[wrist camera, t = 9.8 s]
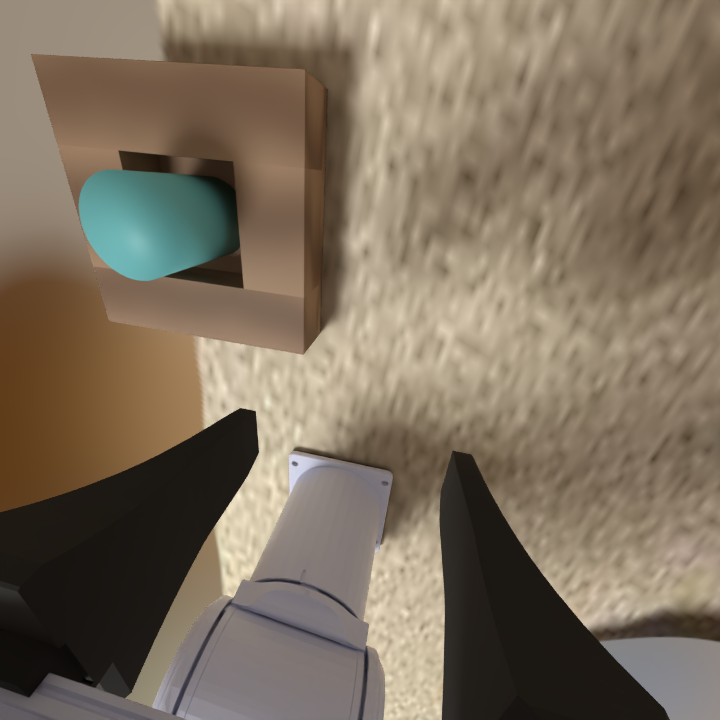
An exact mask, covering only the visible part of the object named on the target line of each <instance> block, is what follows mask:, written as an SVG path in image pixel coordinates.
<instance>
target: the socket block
mask: <svg viewBox="0 0 720 720" xmlns="http://www.w3.org/2000/svg"><path fill="white" fill-rule="evenodd" d="M31 56H32V60H33V63H34V66H35V70H36V73H37V77H38V80H39V83H40V87H41V90H42V93H43V97H44V100H45V104H46V107H47V110H48V114H49V117H50V121H51V124H52V127H53V131H54V135H55V138H56V141H57V144H58V148H59V152H60V155H61V158H62V162H63V165H64V169H65V172H66V175H67V179H68V182H69V186H70V189H71V192H72V195H73V199H74V203H75V206H76V209H77V213H78V216H79V220H80V215H79V197H80V193H81V190H82V187H83V185H84V184H85V182H86V181H87V180H88V178H89V177H91V176H92V175H93V174H95V173H97V172H99V171H102V170H110V169H112V170H127V171H142V172H157V173H173V174H188V175H203V176H213V177H216V178H219V179H221V180H223V181H225V182H226V183H228V184H229V185H230V186H231V187H232V188H233V189H234V190H235V191H236V200H237V213H238V225H239V237H240V249H238V250H237V251H236V252H234V253H232V254H230V255H227V256H224V257H221V258H218V259H215V260H212V261H209V262H206V263H203V264H200V265H197V266H193V267H190V268H187V269H184V270H181V271H178V272H175V273H172V274H169V275H166V276H163V277H160V278H157V279H154V280H150V281H139V280H134V279H130V278H128V277H125V276H123V275H121V274H119V273H118V272H116V271H115V270H113V269H112V268H111V267H110V266H108V265H107V264H106V263H105V262H104V261H103V260H102V259H101V258H100V257H99V255H98V254H97V253H96V252H95V250H94V249H93V247H92V246H91V244H90V243H89V241H88V239H87V237H86V235H85V232H84V230H83V227H82V224H81V227H82V230H83V233H84V237H85V240H86V244H87V247H88V250H89V253H90V257H91V260H92V264H93V267H94V271H95V274H96V278H97V281H98V284H99V288H100V291H101V295H102V298H103V301H104V305H105V307H106V312H107V315H108V318H109V321H113V322H118V323H124V324H130V325H136V326H142V327H148V328H153V329H159V330H165V331H170V332H176V333H183V334H188V335H193V336H199V337H205V338H211V339H217V340H222V341H228V342H234V343H240V344H245V345H251V346H257V347H263V348H268V349H274V350H280V351H286V352H291V353H297V354H303V355H304V353H305V352H306V351H307V349H308V348H309V347H310V346H311V344H312V343H313V342H314V340H315V339H316V338H317V336H318V335H319V334H320V318H321V286H322V254H323V222H324V189H325V157H326V125H327V93H328V89H327V88H326V87H324V86H323V85H322V84H321V83H320V82H319V81H318V80H317V79H315V78H314V77H313V76H312V75H311V74H310V73H309V72H307V71H306V70H305V69H289V68H271V67H253V66H235V65H217V64H199V63H181V62H163V61H145V60H127V59H109V58H90V57H73V56H56V55H37V54H31ZM80 223H81V220H80Z"/></svg>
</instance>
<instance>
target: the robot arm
mask: <svg viewBox="0 0 720 720" xmlns="http://www.w3.org/2000/svg"><path fill="white" fill-rule="evenodd" d="M258 453H259V447H258V434H257V422H256V411H252V410H247V409H242V408H240V409H238V410H236V411H234V412H233V413H231V414H229V415H228V416H226V417H224V418H223V419H221V420H219V421H218V422H216V423H214V424H213V425H211V426H209V427H208V428H206V429H204V430H203V431H201V432H199V433H198V434H196V435H194V436H192V437H191V438H189V439H187V440H185V441H184V442H182V443H180V444H178V445H176V446H174V447H172V448H171V449H169V450H167V451H165V452H163V453H161V454H160V455H158V456H155V457H154V458H151V459H149V460H147V461H145V462H143V463H141V464H139V465H137V466H134V467H132V468H130V469H128V470H125V471H123V472H121V473H118V474H116V475H113V476H111V477H108V478H105V479H103V480H100V481H98V482H95V483H93V484H90V485H87V486H85V487H82V488H79V489H77V490H73V491H71V492H68V493H65V494H62V495H59V496H56V497H52V498H49V499H46V500H43V501H40V502H36V503H33V504H30V505H26V506H22V507H19V508H15V509H11V510H8V511H4V512H0V720H383V717H384V704H385V675H384V670H383V667H382V665H381V662H380V660H379V656H378V653H377V651H376V650H375V649H374V648H372V647H369V646H366V642H367V635H368V628H369V624H368V623H366V622H364V621H363V619H364V613H365V607H366V601H367V595H368V589H369V583H370V577H371V571H372V565H373V559H374V553H375V552H378V551H379V549H380V544H381V538H382V533H383V528H384V522H385V517H386V512H387V506H388V501H389V496H390V490H391V485H392V480H393V474H392V473H391V472H390V471H387V470H383V469H378V468H374V467H369V466H364V465H360V464H355V463H350V462H346V461H341V460H336V459H332V458H327V457H322V456H317V455H313V454H308V453H303V452H299V451H292V452H291V453H290V455H289V488H290V496H289V498H288V500H287V502H286V504H285V506H284V508H283V510H282V513H281V515H280V517H279V519H278V521H277V523H276V525H275V528H274V530H273V532H272V534H271V536H270V538H269V540H268V542H267V545H266V547H265V549H264V551H263V553H262V555H261V557H260V560H259V562H258V564H257V566H256V568H255V570H254V572H253V575H252V577H251V579H250V581H248V580H242V582H241V584H240V586H239V588H238V590H237V592H236V594H235V596H234V598H233V597H230V596H227V595H224V596H221V597H220V598H219V599H217V601H215V602H213V603H212V604H210V605H208V606H207V607H206V608H205V609H204V610H203V611H202V612H201V614H200V615H199V616H198V618H197V619H196V621H195V622H194V624H193V625H192V627H191V629H190V630H189V631H188V633H187V635H186V636H185V638H184V640H183V642H182V643H181V645H180V647H179V649H178V651H177V653H176V655H175V657H174V659H173V661H172V663H171V665H170V667H169V669H168V671H167V673H166V675H165V677H164V679H163V682H162V684H161V686H160V688H159V691H158V693H157V696H156V698H155V701H154V703H153V706H152V707H149V706H146V705H143V704H140V703H137V702H134V701H131V700H128V699H125V698H126V697H127V696H128V695H129V694H130V693H131V692H132V689H133V687H134V685H135V683H136V680H137V678H138V676H139V674H140V672H141V669H142V667H143V665H144V663H145V660H146V658H147V656H148V654H149V652H150V649H151V647H152V645H153V642H154V640H155V638H156V636H157V634H158V632H159V630H160V628H161V626H162V624H163V622H164V619H165V617H166V615H167V613H168V611H169V609H170V607H171V605H172V603H173V601H174V599H175V597H176V595H177V593H178V591H179V589H180V587H181V585H182V583H183V581H184V579H185V577H186V575H187V573H188V571H189V570H190V568H191V566H192V564H193V562H194V560H195V558H196V557H197V554H198V553H199V551H200V549H201V547H202V545H203V543H204V542H205V540H206V539H207V537H208V535H209V534H210V532H211V531H212V529H213V528H214V526H215V525H216V523H217V522H218V520H219V519H220V517H221V516H222V514H223V513H224V511H225V510H226V508H227V507H228V505H229V504H230V502H231V501H232V499H233V498H234V496H235V495H236V493H237V491H238V490H239V488H240V487H241V485H242V484H243V482H244V481H245V479H246V478H247V476H248V474H249V472H250V470H251V468H252V466H253V464H254V462H255V460H256V458H257V455H258ZM296 462H297V463H296ZM384 481H386V482H384ZM440 536H441V550H442V564H443V578H444V593H445V638H444V677H443V705H442V720H670V719H669V717H668V715H667V713H666V711H665V709H664V708H663V707H662V706H661V705H660V704H659V703H658V702H657V701H656V700H655V699H654V698H653V697H652V696H651V695H650V694H649V693H648V692H647V691H646V690H645V689H644V688H643V687H642V686H641V685H640V684H639V683H638V682H637V681H636V680H635V679H634V678H633V677H632V676H631V675H630V674H629V673H628V672H627V671H626V670H625V669H624V668H623V667H622V666H621V665H620V664H619V663H618V662H617V661H616V660H615V659H614V658H613V657H612V655H611V654H610V653H609V652H608V651H607V650H606V649H605V648H604V647H603V646H602V645H601V643H600V642H599V641H598V640H597V639H596V638H595V637H594V636H593V635H592V634H591V632H590V631H589V630H588V629H587V628H586V627H585V626H584V625H583V623H582V622H581V621H580V620H579V619H578V618H577V616H576V615H575V614H574V613H573V612H572V610H571V609H570V608H569V607H568V606H567V604H566V603H565V602H564V601H563V600H562V598H561V597H560V596H559V595H558V594H557V592H556V591H555V590H554V589H553V587H552V586H551V585H550V583H549V582H548V581H547V580H546V578H545V577H544V576H543V574H542V573H541V572H540V570H539V569H538V567H537V566H536V565H535V563H534V562H533V561H532V559H531V558H530V556H529V555H528V553H527V552H526V551H525V549H524V548H523V546H522V545H521V543H520V542H519V540H518V539H517V537H516V535H515V534H514V532H513V531H512V529H511V527H510V526H509V524H508V523H507V521H506V519H505V518H504V516H503V514H502V512H501V511H500V509H499V507H498V505H497V503H496V502H495V500H494V498H493V496H492V494H491V493H490V491H489V489H488V487H487V485H486V483H485V481H484V479H483V477H482V475H481V473H480V471H479V469H478V467H477V464H476V462H475V460H474V458H473V456H472V455H471V454H466V453H461V452H456V451H453V452H452V455H451V459H450V462H449V466H448V469H447V472H446V476H445V479H444V483H443V486H442V490H441V498H440Z"/></svg>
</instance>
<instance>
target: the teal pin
mask: <svg viewBox="0 0 720 720" xmlns="http://www.w3.org/2000/svg"><path fill="white" fill-rule="evenodd" d="M79 215H80V220H81V224H82V227H83V230H84V232H85V235H86V237H87V239H88V241H89V243H90V244H91V246H92V247H93V249H94V250H95V252H96V253H97V254H98V255H99V257H100V258H101V259H102V260H103V261H104V262H105V263H106V264H107V265H108V266H110V267H111V268H112V269H113V270H115V271H116V272H118V273H119V274H121V275H123V276H125V277H128V278H130V279H134V280H139V281H150V280H154V279H157V278H160V277H163V276H166V275H169V274H172V273H175V272H178V271H181V270H184V269H187V268H190V267H193V266H197V265H200V264H203V263H206V262H209V261H212V260H215V259H218V258H221V257H224V256H227V255H230V254H232V253H234V252H236V251H237V250H238V249H240V237H239V225H238V213H237V200H236V191H235V190H234V189H233V188H232V187H231V186H230V185H229V184H228V183H226V182H225V181H223V180H221V179H219V178H216V177H213V176H203V175H188V174H173V173H157V172H142V171H127V170H112V169H110V170H102V171H99V172H97V173H95V174H93V175H92V176H91V177H89V178H88V180H87V181H86V182H85V184H84V185H83V187H82V190H81V193H80V197H79Z"/></svg>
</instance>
